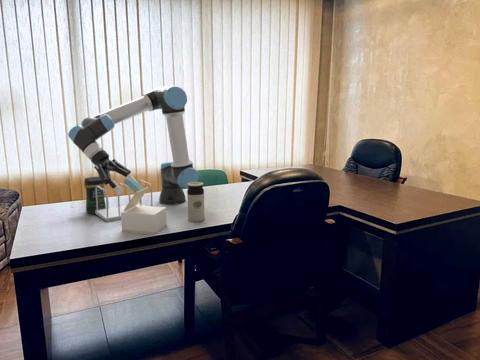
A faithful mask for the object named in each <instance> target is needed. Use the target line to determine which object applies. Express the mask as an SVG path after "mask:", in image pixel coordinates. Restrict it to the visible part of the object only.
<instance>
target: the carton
mask: <svg viewBox="0 0 480 360" xmlns="http://www.w3.org/2000/svg"><path fill="white" fill-rule="evenodd" d="M120 220H121V221H120V222H121V233H130V234H140V235H150V236H151V235H152V236H156V235H157V234H158V233H159V234H160V232H162V231H163V230H164V229H165V228H166V227H168V215H167V207H164V206H153V205H152V206H151V205H146V206H138V205H136V206H134V207H132V208H130V209H129V210H127V211H122V212H121V219H120Z"/></svg>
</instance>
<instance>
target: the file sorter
mask: <svg viewBox="0 0 480 360" xmlns="http://www.w3.org/2000/svg"><path fill="white" fill-rule="evenodd" d="M140 182H142V183H145V184H147V185H149V187H150V206H153V186H152V184H151V183H150V182H147V181H145V180H142V179H139V180H138V183H139V184H140V185H141V183H140ZM117 184H118V185H119V186H120V185H121V186H123V187H126V188H127V192H128V203H129V202H130V200H131V199H132V198H131V189H130V188H129V187H128V186H127V185H126V184H125V183H122V182H118V183H117ZM97 187H98V188H100V189H102V190H103V192H104V193H105V194H104V195H105V205H106V209H100V210H98V201H97ZM108 187H110V188H112V187H111V186H110V185H109V184H107V185H105V189H104V187H103V188H101V187H99V186H96V206H97V210H95V213H94V214H95V215H97V216H98V217H99V218H101V219H102V220H103V221H105V222H107V223H108V222H113V221H117V220H118V221H119V220H121V212H122V211H124V209H125V207H126V206H127V205H128V204H127V205H121V204H120V203H121V201H120V195H118V194H117V206H113V207H110V204H109V194H108V193H109V192H108ZM120 205H121V206H120ZM137 205H138V206H147V205H145V204H144V203H143V202H142V199H141V200H140V201H139V202H138V204H137Z"/></svg>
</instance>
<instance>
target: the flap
mask: <svg viewBox="0 0 480 360" xmlns="http://www.w3.org/2000/svg"><path fill="white" fill-rule="evenodd" d="M134 179H135V178H134ZM134 179H132V178H131V177H129V178H126V177H125V180H124V181H123V184H124V185H127V186H128V187H129V189H130V190H132V191H133V192H134V194H133V196H132V197H131V198H130V199H131V200H130V202H129V201H128V203H127V206H126V207H125V209H124V211H127V210H129V209H130V208H132V207H134V206H136V205H137V204H138V203H139V201H140V200H141V201H142V198H143V197H144V195H145V193H146V192H147V191H148V190H149V187H148V186H146V187H143V186H142V185H141V183H140V184H138V183H139V182H138V181H137V180H136V179H135V180H136V181H137V182H138V183H137V182H136V181H135V180H134Z"/></svg>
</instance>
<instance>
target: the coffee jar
mask: <svg viewBox="0 0 480 360" xmlns="http://www.w3.org/2000/svg"><path fill="white" fill-rule="evenodd" d="M83 184H84V186H83V187H84V188H85V190H86V191H85V192H86V195H85V196H86V198H85V199H86V201H85V211H86V213H88V214H95V210H97V206H96V186H99V187H101V188H103V189H104V187H105V184H104V183H102V181H101V178H100V176H99V175H98V176H90V177H85V178H84V182H83ZM104 193H105V192H104V191H103V190H102V189H100V188H98V187H97V201H98V210H100V209H106V198H105V194H104Z"/></svg>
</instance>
